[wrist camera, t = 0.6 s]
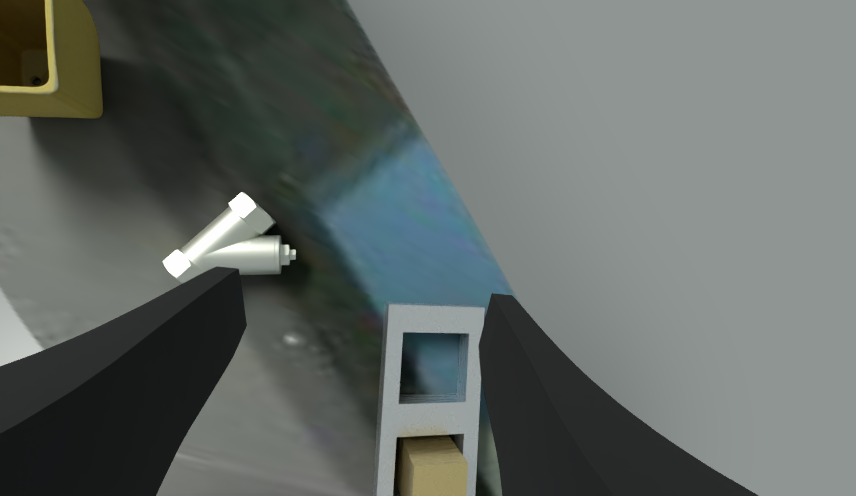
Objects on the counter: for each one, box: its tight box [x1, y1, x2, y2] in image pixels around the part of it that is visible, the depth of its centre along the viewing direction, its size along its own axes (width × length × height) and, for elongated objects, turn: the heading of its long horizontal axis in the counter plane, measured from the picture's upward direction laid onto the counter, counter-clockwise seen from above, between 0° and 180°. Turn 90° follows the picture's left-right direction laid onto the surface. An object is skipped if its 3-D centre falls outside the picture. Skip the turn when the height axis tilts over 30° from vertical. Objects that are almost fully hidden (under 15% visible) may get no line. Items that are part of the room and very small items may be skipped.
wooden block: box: [397, 434, 468, 496], centre depth 33 cm, size 4×4×6 cm
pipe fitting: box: [163, 192, 296, 284], centre depth 31 cm, size 8×4×7 cm
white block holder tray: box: [372, 302, 485, 496], centre depth 35 cm, size 20×9×2 cm, turn 177°
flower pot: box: [0, 0, 103, 118], centre depth 26 cm, size 9×9×9 cm
